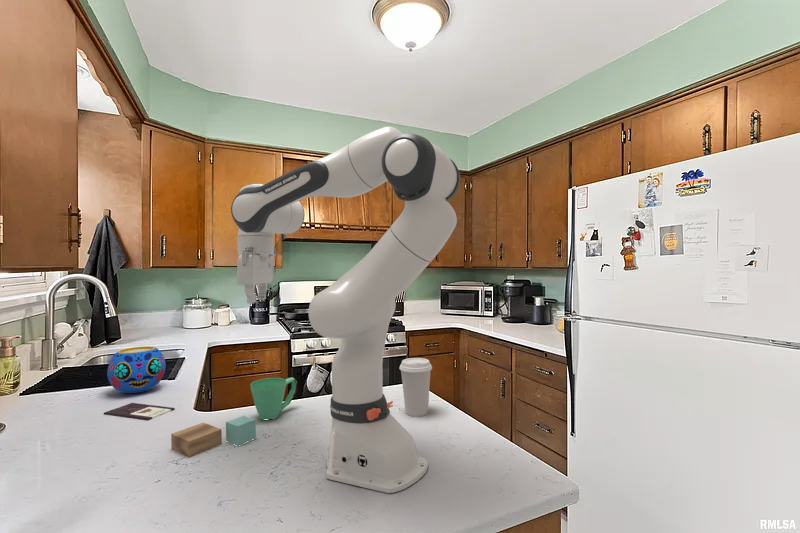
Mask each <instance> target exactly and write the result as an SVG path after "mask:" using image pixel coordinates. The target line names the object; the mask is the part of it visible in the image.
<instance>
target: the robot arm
mask: <svg viewBox="0 0 800 533" xmlns="http://www.w3.org/2000/svg"><path fill="white" fill-rule="evenodd" d="M386 182H388V183H389V185H390V186H391V187H392V189H393V192H394V194H395V195H396V197H397V198H398V199H399V200H401V201H404V208H403V210H402V212H401V213H400V215H399V216H398V217H397V218H396V219H395V221H394V222H392V224H391V226H390V227H389V228H387V230H386V232H384V234H383V235H382V236H381V238H380V239H379V240H378V241H377V242H376V243H375V245H374V246H373V247H372V248H371V249H370V251H369V252H368V253H367V254H366V255H365V256H364V257H362V259H360V260H359V261H358V262H357V263H356V264H354V266H352V267H350V269H349V270H347V271H346V272H345V273H344V274H342V275H341V276H340V277H339V278H338V279H337V280H336V281H334V282H333V283H332V284H331V285H329V286H328V287H326V288H324V289H323V290H321V291H319V292H318V293H316V294H315V295H314V296H313V298H312V299H311V301H310V302H309V307H308V320H309V322H310V326H311V327H312V328H313V331H315V333H317V335H320V336H321V337H322V338H327V339H341V341H340V344H339V348H338V350H337V352H336V354H335V355H334V357H333V359H332V363H331V387H332V388H331V391H332V395H331V397H330V405H329V409H330V416H331V417H332V419H331V420H332V422H331V432H330V440H329V441H330V442H329V449H328V453H327V457H326V462H325V464H326V465H325V466H326V467H327V469H326V473H325V477H326V479H327V480H331V481H335V482H338V483H343V484H347V485H352V486H357V487H361V488H365V489H369V490H373V491H377V492H381V493H387V494H393V493H397V492H400V491H403V490H405V489H407V488H409V487H410V486H413V484H415V483H416V482H418V481H419V480H420V479H421V478H422V477H423V476H424V475H425V474H426V472H427V470H428V468H429V463H428V459H427V458H424V457H423V456H421V455H418V452H417V451H418V450H417V446H416V441H415V439H414V436H413V435H412V434H411V433H409V432H408V430H406V428H405V427H404V426H403V425H402V424H401V423H400V422H399V421H398V420H397V419H396V418H395V417H394V416H393V415H392V414H391V411H390V408H392V407H394V404H393V403H394V400H391V401H390V402H387V398H386V396H385V393H384V391H383V390H384V389H383V388H384V387H383V384H384V383H383V363H384V360H383V359H384V351H385V346H386V340H387V337H388V336H387V335H388V330H389V325H390V322H391V320H392V317H393V316H394V314H395V311H396V304H397V303H396V297H397V296H399V295H400V294H401V293H403V292H404V291H406V290H407V289H408V288H409V287H410V286H411V285H412V284H413V283H414V282H415V280H416V279H417V278H418V277H419V276H420V275H421V274H422V273H423V271H424V270H425V269H426V268H427V267H428V265H429V264H430V263H431V262H432V261H433V260H434V259H435V257H436V256H437V255H439V253H440V252H441V250H442V249H443V248H444V246H445V245H446V243H447V241H448V240H449V239H450V237H451V236H452V233H453V232H454V231H455V228H456V226H457V222H458V218H457V214H456V211H455V209H454V208H453V206H452V205H451V204H450V202H448V201H451V199H453V198H454V197H455V196H456V194H457V193H458V191H459V188H460V186H461V174H460V170H459V168H458V166H457V165H456V163H455V162H454V161H453V160H452V159H451V158H449V157H448V155H446V153H445V152H444V150H443V149H441V148H440V147H439V146H437V145H436V144H434V143H433V142H431V141H430V140H428V139H427V138H426V137H424V136H422V135H419V134H415V133H402V131H400V130H399V129H398V128H396V127H393V126H383V127H381V128H378V129H376V130H372V131H371V132H368V133H366V134H364V135H362V136H360V137H358V138H356V139H355V140H353V141H351V142H350V143H348V144H346V145H345V146H343V147H341V148H340V149H338V150H336V151H334V152H331V153H330V154H328V155H326V156H323V157H321V158H318V159H317V160H314V161H310V162H308V163H306V164H303V165H300V166H299V167H298V166H297V167H296V168H294V169H292V170H290V171H289V172H286V173H284V174H283V175H280V176H278V177H276V178H275V179H273V180H270V181H268V182H267V183H265V184H264V183H250V184H245V185H244V186H243V187H241V188H240V190H239V192H238V193H237V194H236V195H235V197H234V199H233V201H232V203H231V207H230V214H231V216H232V217H231V218H232V220H233V221H234V223H235V224H236V226H237V227H238V231H237V232H238V233H237V255H238V257H237V263H236V264H237V268H236V282H237V285H238V286H244V293H245V296H246V303H247V304H255V303H256V302H257V300H258V301H265V300H266V299H267V290H268V283H272V282H273V279H274V272H275V271H274V270H275V256H276V255H277V248H276V246H275V242H274V241H275V240H274V239H275V237H274V234H280V235H281V234H282V235H290V234H295V233H297V232H298V231H299V230H300V229H301V228H302V227H303V224H304V221H305V208H304V206H303V205H302V203H301V200H304V199H309V198H315V197H330V198H331V197H332V198H339V199H341V198H342V199H343V198H344V199H352V198H355V197H357V196H361V195H364V194H366V193H369V192H371V191H372V190H374V189H376V188H378V187H380V186H381V185H383V184H385V183H386ZM256 285H257V287H258V293H257V296H256V294H255V293H256Z"/></svg>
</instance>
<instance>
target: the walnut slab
mask: <svg viewBox="0 0 800 533" xmlns="http://www.w3.org/2000/svg"><path fill="white" fill-rule="evenodd" d="M222 434H223V433H222V428H219V427H216V426H214V425H212V424H208V423H206V422H200V423H198V424H196V425H192V426H189V427H186V428H184V429H181V430H178V431H175V432H173V433H171V435H170V437H171V439H170V440H171V441H170V442H171V443H170V445H171V450H172V451H174V452H177V453H178V454H181V455H183V456H185V457H187V458H192V457H195V456H197V455H199V454H202V453H204V452H206V450H207V451H209V450H211V448H212V449H213V447H214V448H216V447H219V446H221V445H223V437H222V436H223V435H222ZM220 444H221V445H220ZM218 445H219V446H218ZM201 452H202V453H201ZM196 454H197V455H196Z"/></svg>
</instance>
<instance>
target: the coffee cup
mask: <svg viewBox="0 0 800 533" xmlns="http://www.w3.org/2000/svg"><path fill="white" fill-rule="evenodd" d="M399 370H400V373H401V382H402V383H401V384H402V391H403V392H402V393H403V400H404V401H403V402H404V410H405V414H406V416H409V417H413V418H414V417H415V418H419V417H424V416H427V415H428V413H429V403H430V402H429V400H430V386H431V385H430V383H431V371H432V370H433V366H432V364H431V361H430V359H428V358H424V357H423V358H422V357H409V358H405V359H402V360H401V363H400V365H399Z"/></svg>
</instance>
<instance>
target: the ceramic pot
mask: <svg viewBox="0 0 800 533" xmlns="http://www.w3.org/2000/svg"><path fill="white" fill-rule="evenodd" d="M166 364H167V363H166V360H165V356H164V354H163V353H162V351H161V350H160V349H158V348H157V347H156V346H149V345H148V346H135V347H128V348H123V349H120V350H118V351H117V352H115V353H114V354H113V355H112V356H111V358H110V361H109V363H108V366H107V370H106V371H107V372H106V375H107V380H108V382H109V384H110V385H111V386H112V388H113V389H115V390H117V391H118V392H120V393H124V394H125V393H126V394H138V393H143V392H147V391H148V390H151V389H152V388H154V387H156V386H157V385H159V384H160V382H161V380H162V379H163V376H164V375H165V374H166V373H165V372H166V368H167V365H166Z"/></svg>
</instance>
